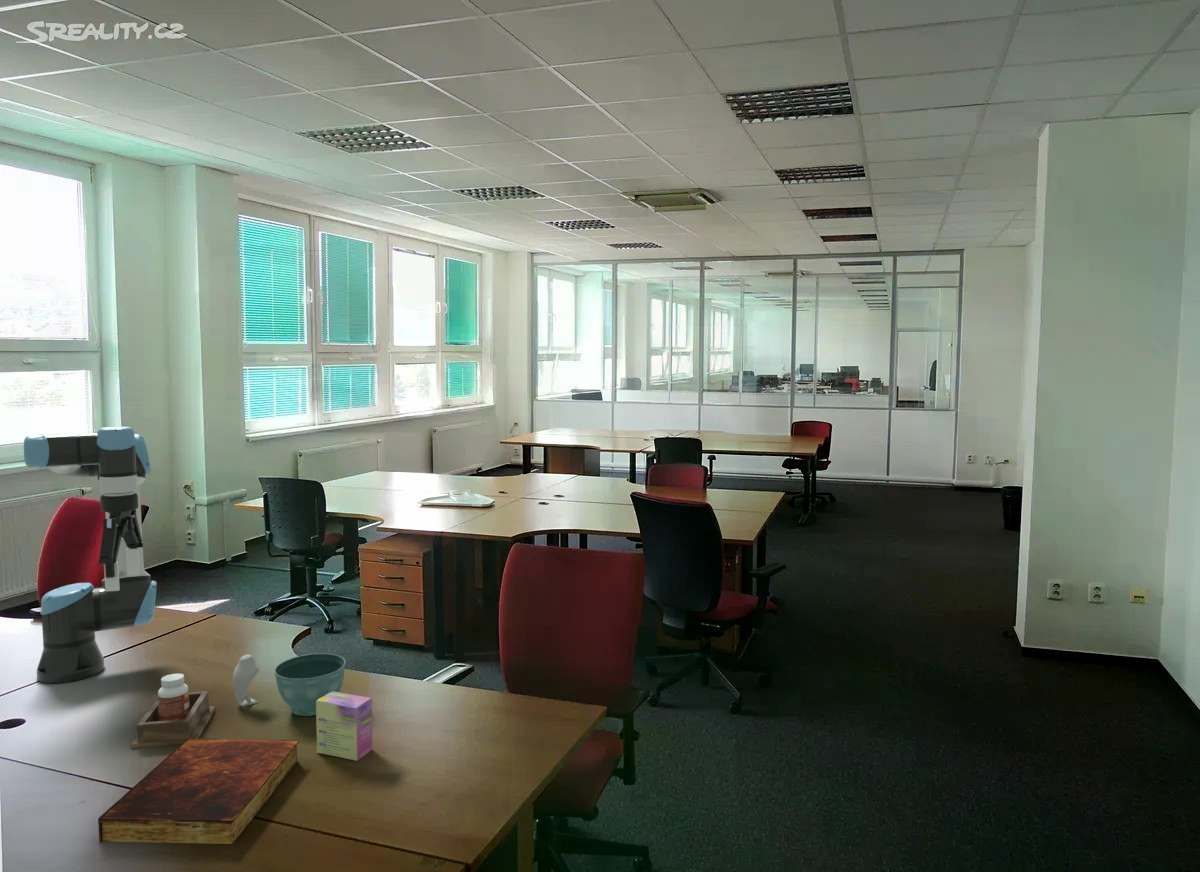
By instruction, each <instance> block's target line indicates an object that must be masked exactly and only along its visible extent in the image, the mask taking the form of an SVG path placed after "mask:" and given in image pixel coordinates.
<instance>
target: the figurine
mask: <svg viewBox="0 0 1200 872" xmlns="http://www.w3.org/2000/svg"><path fill="white" fill-rule="evenodd" d="M259 672H260V668H259V666H258V665H257V663H256V660H255V658H254V657H253V655H251V654H244V655H241V657H240V658H239V661H238V663H237V665H236V666H235V668H234V670H233V674H232V688H233V693H234V695H235V696H234V697H235V698H236V701H237V702H238V705H239V706H241V707H242V708H243V707H247V706H250V705H255V704H258V701H257V700H255V698H252V697H251V696H250V695H249V694H248V689H249V686H250V684H251V682H252V681H253V679H254V678H255V676H256V675H257V674H258V673H259Z"/></svg>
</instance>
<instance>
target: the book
mask: <svg viewBox="0 0 1200 872" xmlns="http://www.w3.org/2000/svg"><path fill="white" fill-rule="evenodd" d="M299 743H300V739H259V738H258V739H257V738H256V739H252V738H250V739H248V738H243V739H242V738H198V739H189V738H188V739H187V740H186V741H185V742H183V743H182V744H179V746H178V747H177V748H176V749H174V750H173V751H172V752H171V753H170V754H169V755H168V756H166V757H165V759H164V758H163V760H162V761H161V762H159V764H157V765H156V766H155V767H154V768H153V769H152V770H151V771H150V772H149V773H147V774H146V775H145V776H144V777H143V778H142V779H140V781H139V782H138V783H136V784H135V785H134V786H132V788H131V789H129V790H128V791H127V792H126V793H125V794H124V795H122V796H121V798H119V799H118V800H117V801H116V802H115V803H113V805H112V806H110V807H109V808H108V809H107V810H106V811H105V812H103V814H102V815H100V816H99V817H97V823H98V826H97V827H98V840H99V841H98V842H99V843H100V844H101V843H104V842H105V843H113V842H114V843H158V844H159V843H163V844H165V843H166V844H167V843H168V844H216V845H217V844H219V845H220V844H223V845H227V844H228V845H233V843H234V842H236V840H237V838H238V837H239V836H240V835H241V834H242V832H243V831H245V828H246V827H247V826H248V825H249V823H250V822H251V821H252V820H253V818H254V817H255V816H256V815H257V813H258V812H260V809H261V808H262V807H263V806H264V804H265V803H266V802H267V801H268V800H269V798H270V797H271V795H273V793H274V792H275V791H276V789H277V788H278V787H279V785H280V784H281V782H283V780H285V777H287V775H288V774H289V772H291V770H292V769H293V768H294V766H295V765H296V764H297V763H298V744H299Z"/></svg>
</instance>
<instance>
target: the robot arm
mask: <svg viewBox="0 0 1200 872" xmlns="http://www.w3.org/2000/svg"><path fill="white" fill-rule="evenodd" d="M23 456H24V457H23V458H24V463H25V465H26V466H27V467H28V468H41V469H42V468H47V469H48V470H49V471H51V472H53V473H56V474H59V475H63V476H71V477H78V478H79V477H80V478H89V477H90V478H91V477H96V478H97V480H96V481H97V484H98V485H99V492H100V493H101V494H102V495H101V496H100V499H99V500H100V510H101V512H103V513H105V518H103V521H102V527H103V528H102V537H101V543H100V549H99V550H100V551H99V559H98V564H99V565H101V564H103V571H104V573H103V574H104V578H103V579H102V580H101V585H102V586H101V587H94V585H93V584H92V583H91V582H76V583H72V584H66V585H64V586H63V585H62V586H60V587H58V588H55V589H52V590H50V591H47V592H46V593H45V594H44V595H43V596H42V598H41V600H40V602H41V605H40V608H41V609H40V615H41V624H42V625H41V627H42V628H41V629H42V644H43V646H42V648H43V649H42V652H41V656H40V658H39V662H38V666H37V668H36V679H37V681H38V682H41V683H44V684H62V683H63V684H64V683H70V682H75V681H80V680H83V679H87V678H90V677H92V676H95V675H97V674H100V672H102V671H103V670H104V669H105V660H104V659H105V658H104V656H103V654H102V652H101V650H100V648H99V646H98V643H97V641H96V632H101V631H110V630H116V629H118V630H119V629H124V628H131V627H132V628H135V627H137V626H143V625H148V624H150V623H151V622H152V621H153V620H154V614H155V609H156V608H155V606H156V597H157V584H158V583H157V581H156V580H152V579H151V578H152V577H151V574H150V573H148V572H147V571H146V570H145V565H144V564H145V563H144V542H143V525H142V506H141V505H142V504H141V485H142V484H144V482H145V481H146V475H149V474H150V473H152V471H151V469H152V468H151V465H150V459H149V458H150V457H149V452H148V448H147V443H146V439H145V437H144V436H143V435H141V434H137V433H135V430H134V428H133V427H131V426H108V427H107V426H106V427H100V428H98V430H97V432H95V433H94V432H93V433H90V432H89V433H73V434H72V433H70V434H69V433H68V434H67V433H65V434H44V433H43V434H37V435H35V434H34V435H27V436H26V437H24V439H23Z"/></svg>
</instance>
